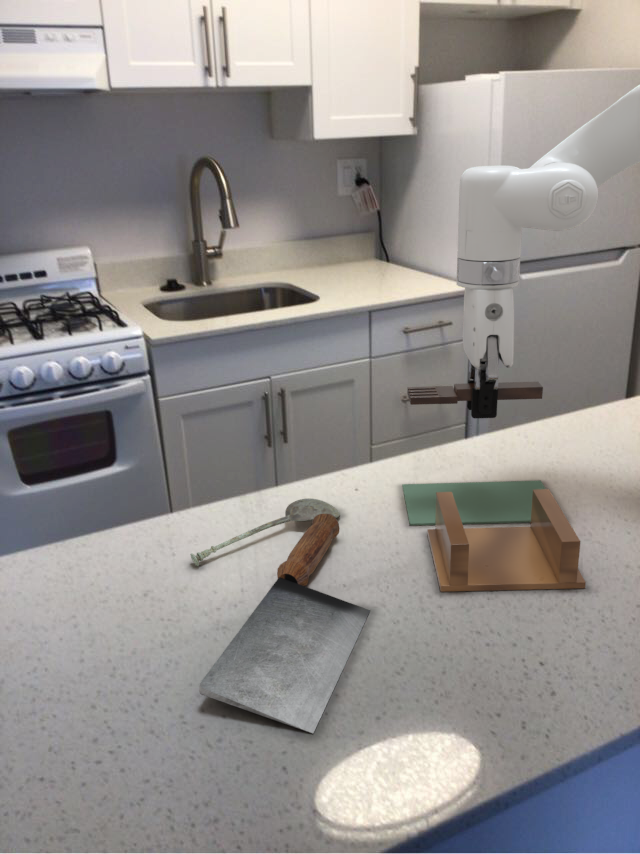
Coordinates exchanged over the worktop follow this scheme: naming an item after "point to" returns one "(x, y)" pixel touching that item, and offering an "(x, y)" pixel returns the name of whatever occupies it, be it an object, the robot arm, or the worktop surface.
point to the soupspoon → (278, 522)
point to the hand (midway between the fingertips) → (481, 412)
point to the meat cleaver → (290, 642)
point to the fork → (465, 392)
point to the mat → (473, 501)
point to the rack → (505, 550)
